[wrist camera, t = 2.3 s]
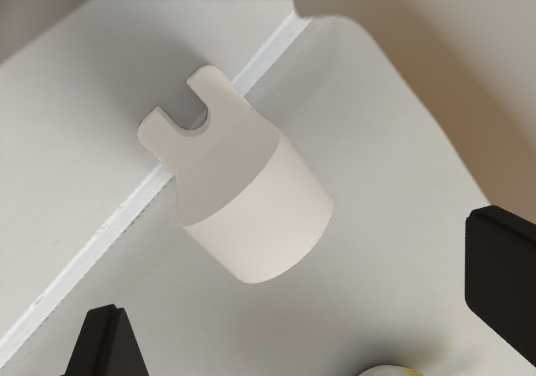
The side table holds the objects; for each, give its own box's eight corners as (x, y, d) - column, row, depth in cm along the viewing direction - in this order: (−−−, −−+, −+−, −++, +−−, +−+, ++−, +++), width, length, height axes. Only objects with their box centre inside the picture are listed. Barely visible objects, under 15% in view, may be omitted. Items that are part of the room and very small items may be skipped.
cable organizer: (209, 59, 21) (235, 67, 11) (317, 188, 24) (403, 272, 15) (135, 126, 21) (102, 186, 12) (253, 243, 25) (299, 358, 15)
